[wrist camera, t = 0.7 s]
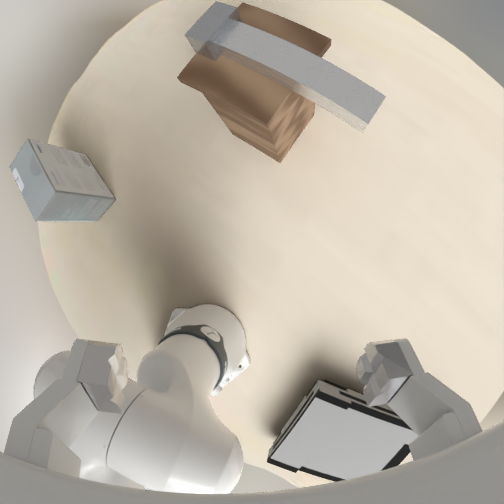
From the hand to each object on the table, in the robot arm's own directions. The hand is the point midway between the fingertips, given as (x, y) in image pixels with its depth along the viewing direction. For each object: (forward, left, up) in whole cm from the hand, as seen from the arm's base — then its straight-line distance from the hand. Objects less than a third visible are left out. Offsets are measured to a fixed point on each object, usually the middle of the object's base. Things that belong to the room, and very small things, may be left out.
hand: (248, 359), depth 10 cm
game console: (-24, -36, -49) cm, 66 cm away
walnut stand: (+19, +17, -49) cm, 55 cm away
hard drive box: (-13, +45, -49) cm, 68 cm away
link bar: (+19, +12, -23) cm, 32 cm away
